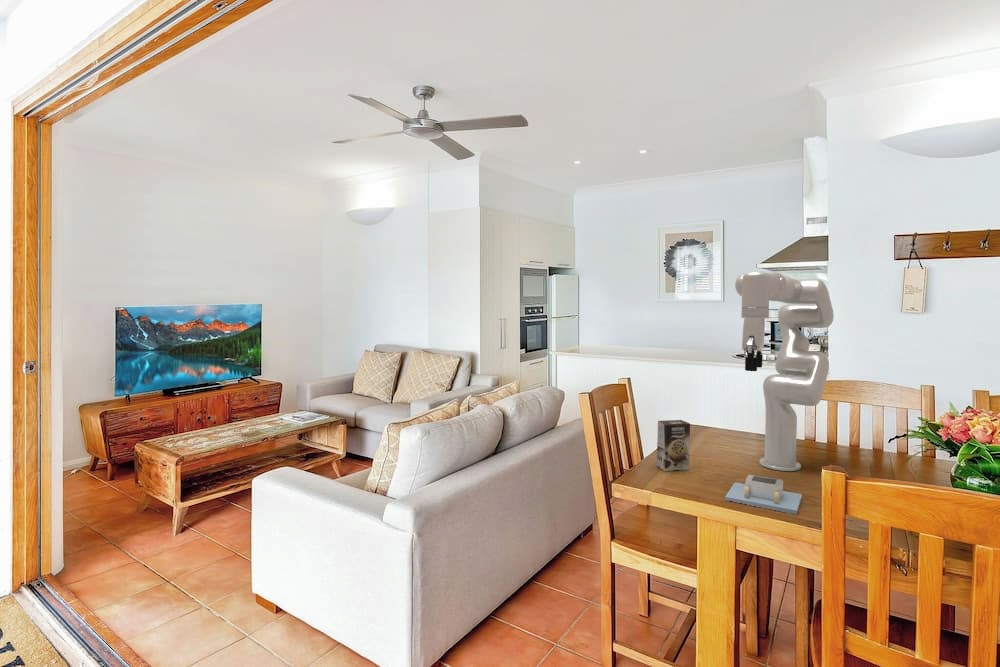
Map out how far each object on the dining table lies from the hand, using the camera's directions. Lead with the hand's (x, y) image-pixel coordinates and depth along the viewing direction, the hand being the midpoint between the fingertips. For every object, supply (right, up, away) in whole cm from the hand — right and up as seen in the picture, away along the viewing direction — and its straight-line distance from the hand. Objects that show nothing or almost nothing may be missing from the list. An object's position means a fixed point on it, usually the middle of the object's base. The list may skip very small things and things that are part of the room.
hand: (753, 368), depth 160 cm
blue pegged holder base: (-2, -37, -9) cm, 38 cm away
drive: (-2, -36, -9) cm, 37 cm away
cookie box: (-18, -36, +19) cm, 44 cm away
